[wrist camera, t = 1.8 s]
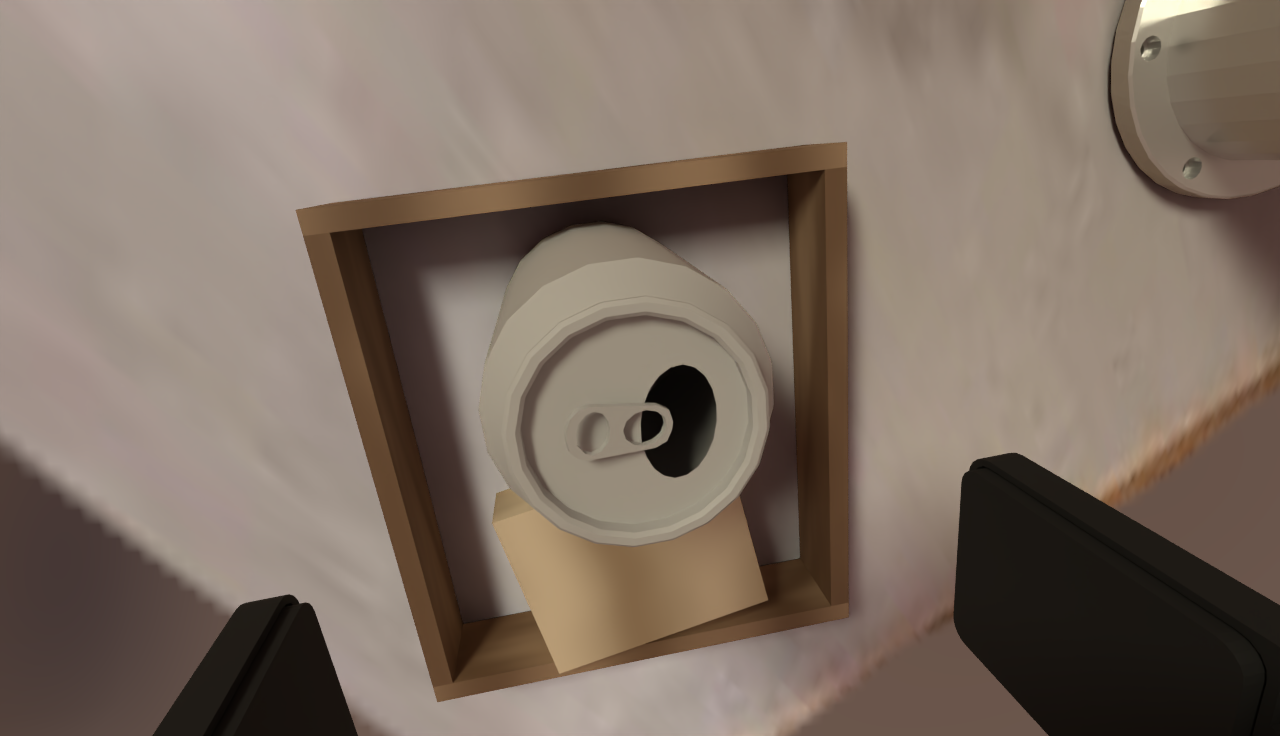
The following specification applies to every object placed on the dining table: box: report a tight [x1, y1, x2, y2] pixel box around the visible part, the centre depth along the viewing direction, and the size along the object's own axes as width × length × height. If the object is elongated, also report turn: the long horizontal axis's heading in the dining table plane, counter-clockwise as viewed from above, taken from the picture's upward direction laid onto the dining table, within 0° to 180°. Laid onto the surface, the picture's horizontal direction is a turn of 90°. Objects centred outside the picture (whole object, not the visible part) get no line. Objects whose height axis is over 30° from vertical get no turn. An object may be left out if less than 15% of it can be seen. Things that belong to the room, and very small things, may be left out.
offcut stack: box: [492, 489, 768, 674], centre depth 26 cm, size 10×9×4 cm
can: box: [479, 221, 774, 547], centre depth 20 cm, size 8×8×12 cm
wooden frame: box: [296, 142, 849, 702], centre depth 25 cm, size 18×20×4 cm
